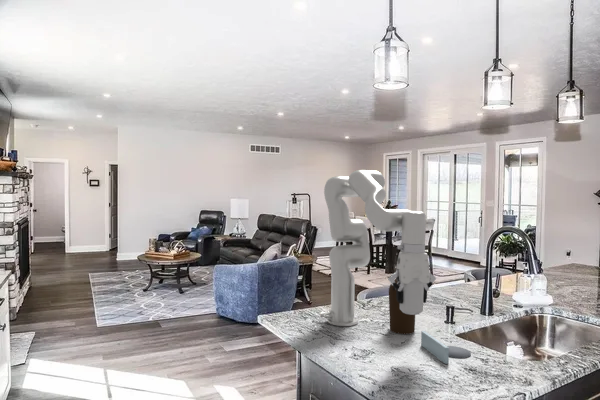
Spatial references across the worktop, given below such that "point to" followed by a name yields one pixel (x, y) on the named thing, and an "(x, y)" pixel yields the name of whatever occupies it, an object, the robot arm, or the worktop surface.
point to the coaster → (458, 352)
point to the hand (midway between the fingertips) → (411, 301)
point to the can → (413, 297)
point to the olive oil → (399, 315)
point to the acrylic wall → (435, 347)
